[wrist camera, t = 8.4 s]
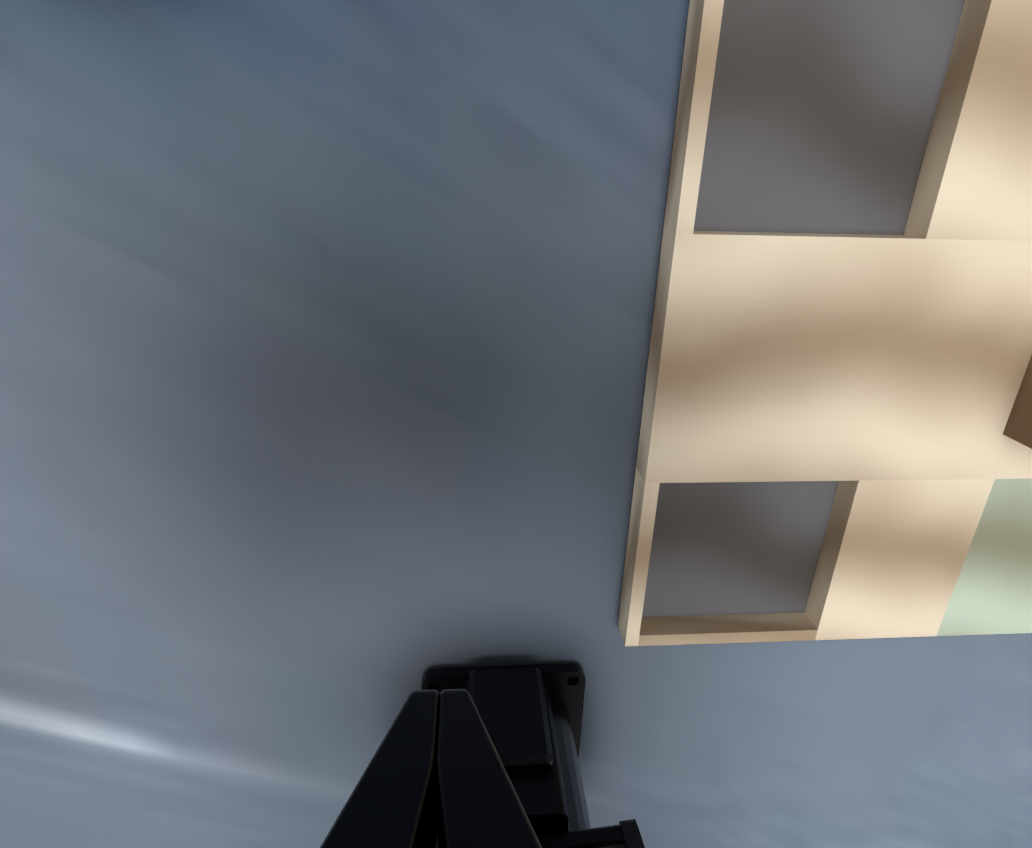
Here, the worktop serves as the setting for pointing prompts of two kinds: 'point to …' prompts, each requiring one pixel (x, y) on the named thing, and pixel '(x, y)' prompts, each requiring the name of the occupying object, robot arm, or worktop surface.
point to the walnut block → (1022, 412)
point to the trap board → (840, 329)
